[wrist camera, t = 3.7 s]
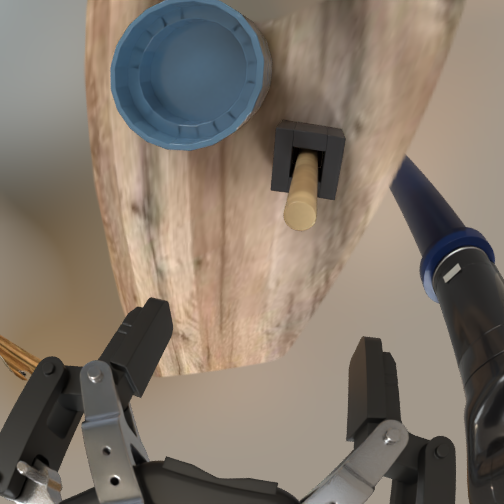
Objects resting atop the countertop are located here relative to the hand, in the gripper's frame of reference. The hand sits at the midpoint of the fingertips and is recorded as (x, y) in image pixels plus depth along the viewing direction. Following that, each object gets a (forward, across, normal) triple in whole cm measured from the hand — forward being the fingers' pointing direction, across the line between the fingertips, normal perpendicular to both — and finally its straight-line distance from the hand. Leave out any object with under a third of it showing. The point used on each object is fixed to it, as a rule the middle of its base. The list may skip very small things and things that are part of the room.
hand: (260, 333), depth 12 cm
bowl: (+23, +11, -9) cm, 28 cm away
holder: (+23, -1, -1) cm, 23 cm away
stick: (+23, -1, -1) cm, 23 cm away
